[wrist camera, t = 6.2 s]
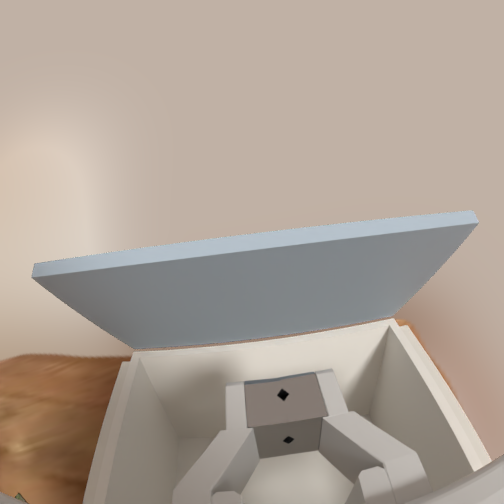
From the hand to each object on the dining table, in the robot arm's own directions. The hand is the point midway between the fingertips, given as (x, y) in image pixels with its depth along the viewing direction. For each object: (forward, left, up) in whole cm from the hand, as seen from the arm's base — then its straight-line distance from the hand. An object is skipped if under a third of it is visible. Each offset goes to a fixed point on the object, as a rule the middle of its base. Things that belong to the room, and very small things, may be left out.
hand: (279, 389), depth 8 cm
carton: (0, 0, -17) cm, 17 cm away
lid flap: (-5, +4, -1) cm, 6 cm away
